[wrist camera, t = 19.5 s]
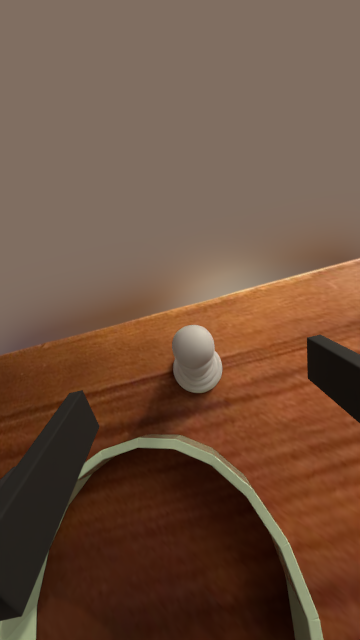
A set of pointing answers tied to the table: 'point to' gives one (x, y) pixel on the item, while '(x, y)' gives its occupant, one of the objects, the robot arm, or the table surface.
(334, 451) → the table surface
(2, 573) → the robot arm
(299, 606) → the green faceted ring
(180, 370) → the chess piece
